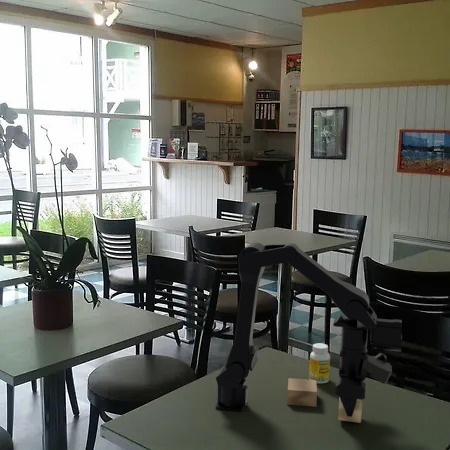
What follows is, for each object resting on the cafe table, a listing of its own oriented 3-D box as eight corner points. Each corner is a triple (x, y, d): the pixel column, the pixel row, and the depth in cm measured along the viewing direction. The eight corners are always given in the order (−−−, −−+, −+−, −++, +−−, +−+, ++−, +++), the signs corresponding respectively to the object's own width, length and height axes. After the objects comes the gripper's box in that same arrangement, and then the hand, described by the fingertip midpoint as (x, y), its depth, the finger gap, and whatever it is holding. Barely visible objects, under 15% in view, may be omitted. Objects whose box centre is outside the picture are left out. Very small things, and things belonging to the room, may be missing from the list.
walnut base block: (287, 405, 140) (287, 389, 140) (288, 393, 147) (288, 378, 147) (316, 407, 139) (316, 391, 139) (315, 395, 146) (316, 380, 146)
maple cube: (338, 419, 131) (339, 398, 130) (339, 409, 135) (340, 389, 135) (360, 422, 129) (362, 401, 129) (361, 412, 134) (362, 392, 133)
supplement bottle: (319, 374, 159) (321, 340, 157) (333, 381, 154) (335, 346, 153) (304, 378, 156) (306, 344, 154) (318, 385, 151) (320, 350, 150)
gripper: (391, 365, 119) (387, 436, 121) (390, 336, 137) (386, 398, 139) (336, 359, 122) (333, 428, 124) (342, 331, 140) (339, 392, 142)
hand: (350, 411), depth 132 cm, fingers closed on maple cube, 5 cm apart
